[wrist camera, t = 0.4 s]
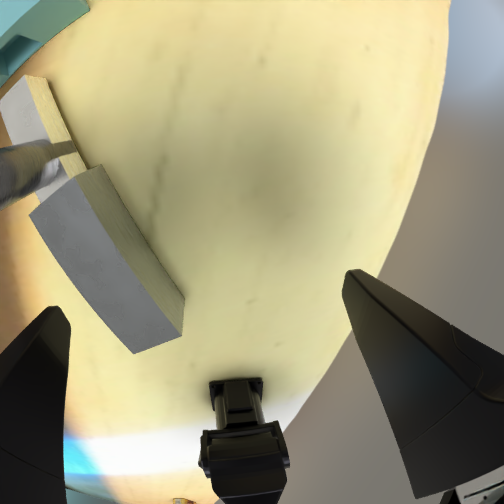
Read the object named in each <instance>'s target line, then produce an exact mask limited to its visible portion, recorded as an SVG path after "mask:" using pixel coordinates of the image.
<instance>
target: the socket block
mask: <svg viewBox="0 0 504 504" xmlns="http://www.w3.org/2000/svg"><path fill="white" fill-rule="evenodd" d="M88 11H90V9H89V6H88V4H87V2H86V0H0V87H1V86H2V85H3V84H4V83H5V82H6V81H7V80H8V79H9V77H10V76H11V75H12V74H13V73H14V72H15V71H16V70H17V69H18V68H19V67H20V66H21V65H22V64H23V63H24V62H25V61H26V60H27V59H28V58H30V57H31V56H32V55H33V54H34V53H35V52H36V51H37V50H38V49H40V48H41V47H42V46H43V45H44V44H45V43H47V42H48V41H49V40H50V39H51V38H53V37H54V36H55V35H56V34H58V33H59V32H60V31H61V30H63V29H64V28H65V27H67V26H68V25H69V24H71V23H72V22H74V21H75V20H76V19H78V18H79V17H81V16H82V15H84V14H85V13H87V12H88Z"/></svg>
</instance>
